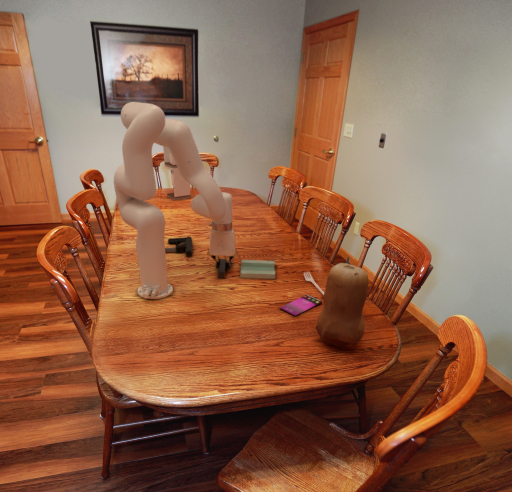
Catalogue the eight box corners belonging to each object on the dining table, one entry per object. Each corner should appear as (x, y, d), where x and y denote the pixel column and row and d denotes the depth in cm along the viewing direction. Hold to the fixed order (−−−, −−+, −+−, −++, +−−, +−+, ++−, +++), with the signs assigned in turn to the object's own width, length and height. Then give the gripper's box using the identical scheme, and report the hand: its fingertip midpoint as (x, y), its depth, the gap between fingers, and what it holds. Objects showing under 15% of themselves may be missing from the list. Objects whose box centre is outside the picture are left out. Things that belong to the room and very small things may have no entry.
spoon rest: (275, 279, 160) (275, 274, 158) (240, 278, 159) (240, 272, 158) (274, 265, 171) (274, 260, 170) (241, 264, 171) (241, 259, 170)
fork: (321, 298, 147) (322, 293, 146) (302, 276, 163) (302, 271, 162) (329, 297, 148) (330, 292, 147) (309, 275, 164) (310, 271, 163)
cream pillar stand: (182, 194, 269) (178, 137, 250) (190, 198, 262) (187, 139, 243) (167, 196, 263) (162, 137, 244) (175, 200, 256) (171, 139, 237)
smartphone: (322, 303, 143) (322, 301, 143) (294, 316, 134) (295, 314, 134) (306, 296, 148) (307, 294, 147) (279, 308, 139) (279, 306, 138)
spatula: (228, 278, 158) (228, 272, 157) (214, 278, 158) (214, 271, 157) (230, 261, 174) (231, 255, 172) (218, 260, 174) (218, 254, 172)
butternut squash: (354, 332, 128) (369, 258, 114) (365, 356, 117) (383, 277, 103) (311, 331, 127) (321, 257, 114) (318, 355, 116) (330, 276, 102)
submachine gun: (157, 252, 173) (194, 250, 174) (159, 237, 189) (194, 235, 191) (158, 260, 174) (195, 257, 176) (161, 244, 191) (194, 241, 193)
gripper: (200, 228, 152) (202, 273, 162) (242, 230, 152) (241, 274, 162) (203, 222, 158) (204, 265, 168) (243, 224, 158) (242, 267, 168)
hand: (222, 269), depth 165 cm, fingers closed on spatula, 2 cm apart
